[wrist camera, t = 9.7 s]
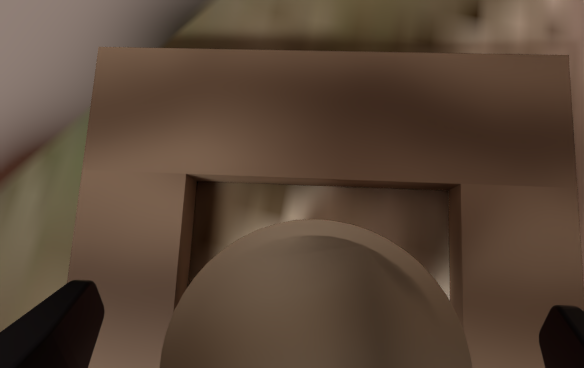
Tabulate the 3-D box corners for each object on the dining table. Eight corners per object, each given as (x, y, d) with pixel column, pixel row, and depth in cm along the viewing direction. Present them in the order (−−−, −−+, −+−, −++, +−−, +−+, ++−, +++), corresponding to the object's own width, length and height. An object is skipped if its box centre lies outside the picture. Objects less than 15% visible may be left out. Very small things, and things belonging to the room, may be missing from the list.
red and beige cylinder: (415, 360, 16) (531, 475, 7) (274, 419, 16) (222, 608, 7) (353, 219, 17) (391, 174, 8) (221, 275, 17) (119, 287, 8)
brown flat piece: (580, 649, 14) (610, 693, 13) (48, 595, 16) (20, 629, 14) (547, 72, 18) (568, 55, 16) (115, 63, 19) (98, 46, 18)
